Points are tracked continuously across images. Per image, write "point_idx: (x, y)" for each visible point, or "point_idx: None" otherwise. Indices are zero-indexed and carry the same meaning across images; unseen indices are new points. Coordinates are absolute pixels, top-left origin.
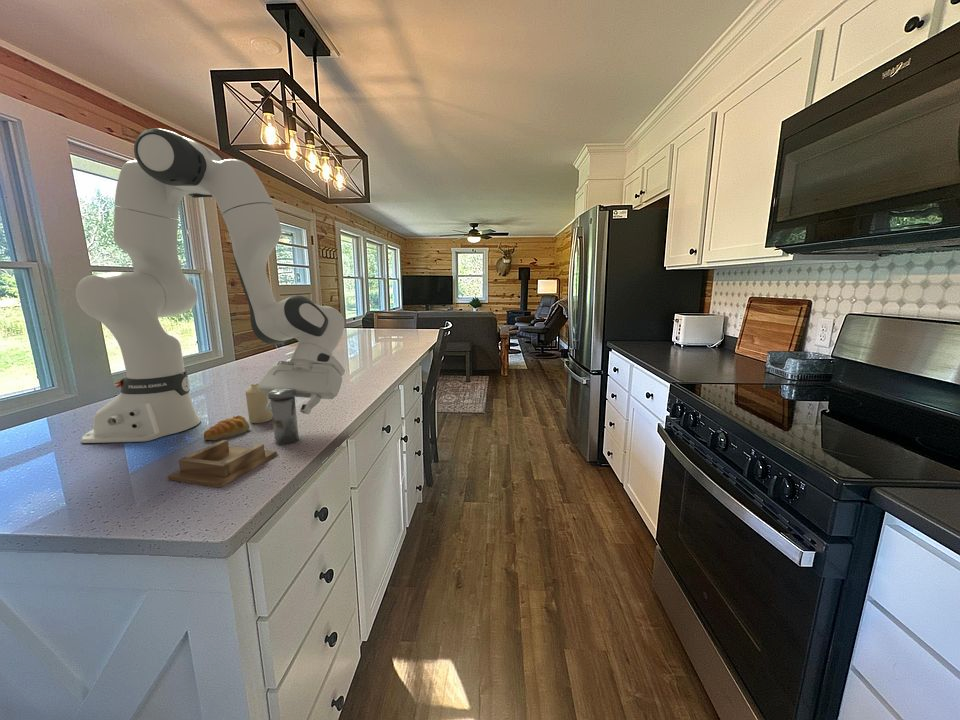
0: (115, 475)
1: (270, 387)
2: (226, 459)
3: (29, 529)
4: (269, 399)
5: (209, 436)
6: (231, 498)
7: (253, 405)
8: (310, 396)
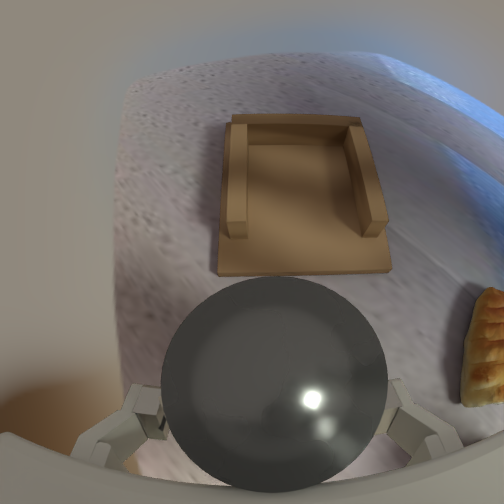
0: (451, 137)
1: (467, 454)
2: (317, 196)
3: (366, 54)
4: (416, 414)
5: (486, 289)
6: (178, 116)
7: None
8: (107, 451)
